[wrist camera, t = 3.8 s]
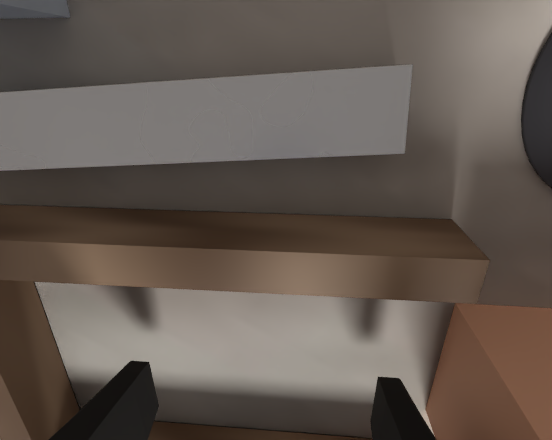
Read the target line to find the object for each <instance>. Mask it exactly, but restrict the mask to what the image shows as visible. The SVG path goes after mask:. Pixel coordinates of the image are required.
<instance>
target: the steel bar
mask: <svg viewBox="0 0 552 440" xmlns="http://www.w3.org/2000/svg"><path fill="white" fill-rule="evenodd" d="M412 68H413V64H409V65H386V66H372V67H357V68H342V69H328V70H313V71H299V72H284V73H269V74H255V75H240V76H225V77H211V78H196V79H182V80H167V81H152V82H138V83H123V84H109V85H94V86H79V87H65V88H50V89H35V90H21V91H6V92H0V171H6V170H30V169H53V168H77V167H101V166H124V165H148V164H172V163H195V162H219V161H242V160H266V159H290V158H313V157H337V156H361V155H384V154H405V145H406V134H407V123H408V112H409V101H410V90H411V79H412Z"/></svg>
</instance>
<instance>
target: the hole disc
mask: <svg viewBox="0 0 552 440" xmlns="http://www.w3.org/2000/svg"><path fill="white" fill-rule="evenodd" d="M521 127H522V138H523V143H524V147H525V151H526V153H527V156H528V158H529V161H530V163H531V165H532V166H533V168H534V169H535V171H536V173H537V174H538V175H539V176H540V177H541V178H542V180H543V181H544V182H545V183H546V184H547V185H549V186H550V187H551V188H552V33H551V35H550V37H549V38H548V40H547V42H546V43H545V45H544V46H543V48H542V50H541V52H540V54H539V56H538V58H537V60H536V62H535V64H534V66H533V69H532V72H531V74H530V77H529V80H528V83H527V86H526V90H525V95H524V99H523V104H522V115H521Z"/></svg>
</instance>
